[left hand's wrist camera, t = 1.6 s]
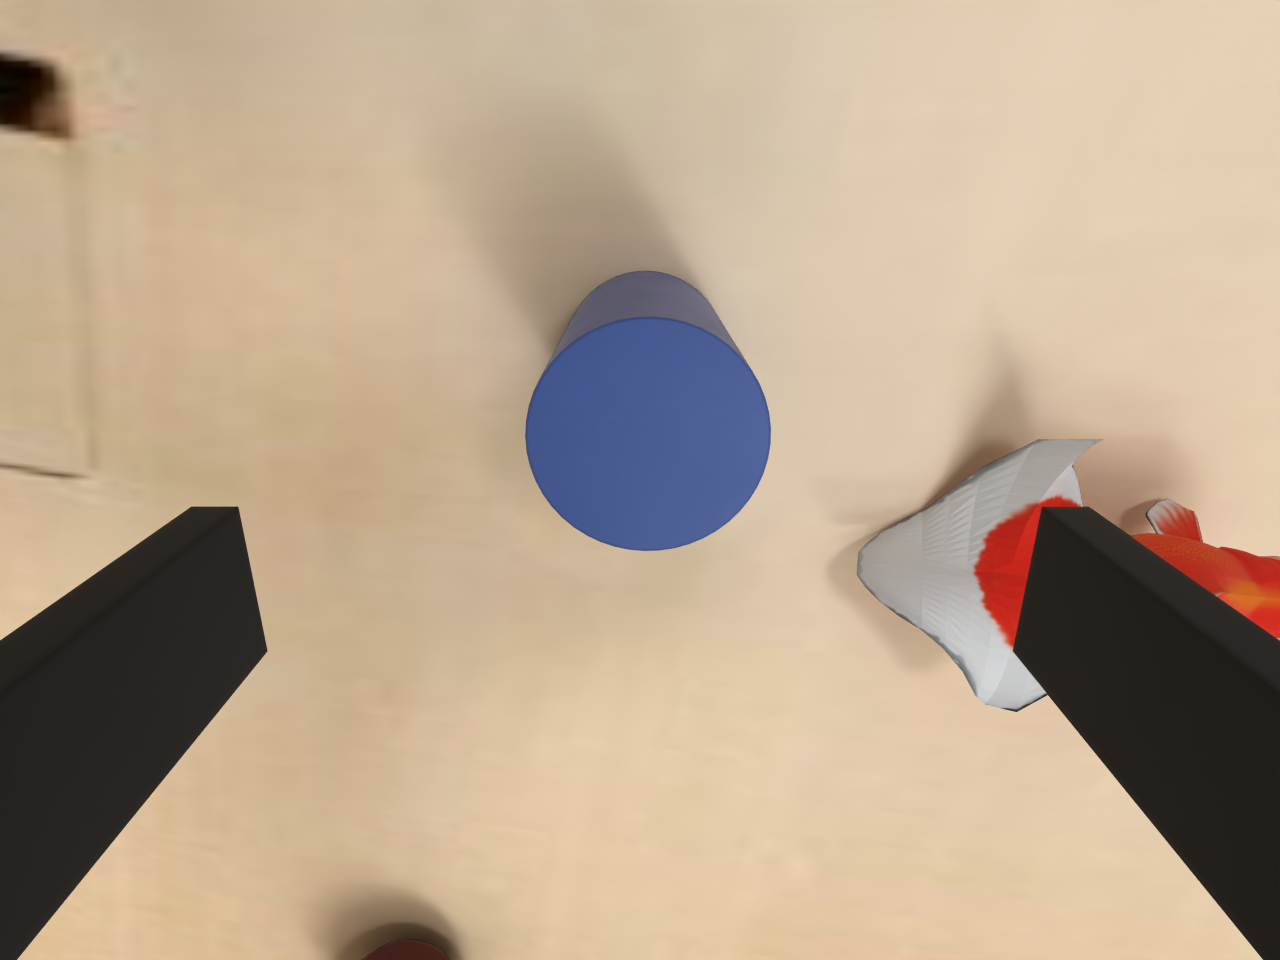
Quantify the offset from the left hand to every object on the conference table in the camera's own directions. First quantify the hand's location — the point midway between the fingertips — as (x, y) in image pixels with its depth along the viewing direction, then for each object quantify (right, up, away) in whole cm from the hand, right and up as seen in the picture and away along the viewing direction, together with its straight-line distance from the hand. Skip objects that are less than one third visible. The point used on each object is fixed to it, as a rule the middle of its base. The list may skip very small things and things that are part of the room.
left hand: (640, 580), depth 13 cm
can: (0, +7, +18) cm, 19 cm away
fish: (+17, -1, +21) cm, 26 cm away
